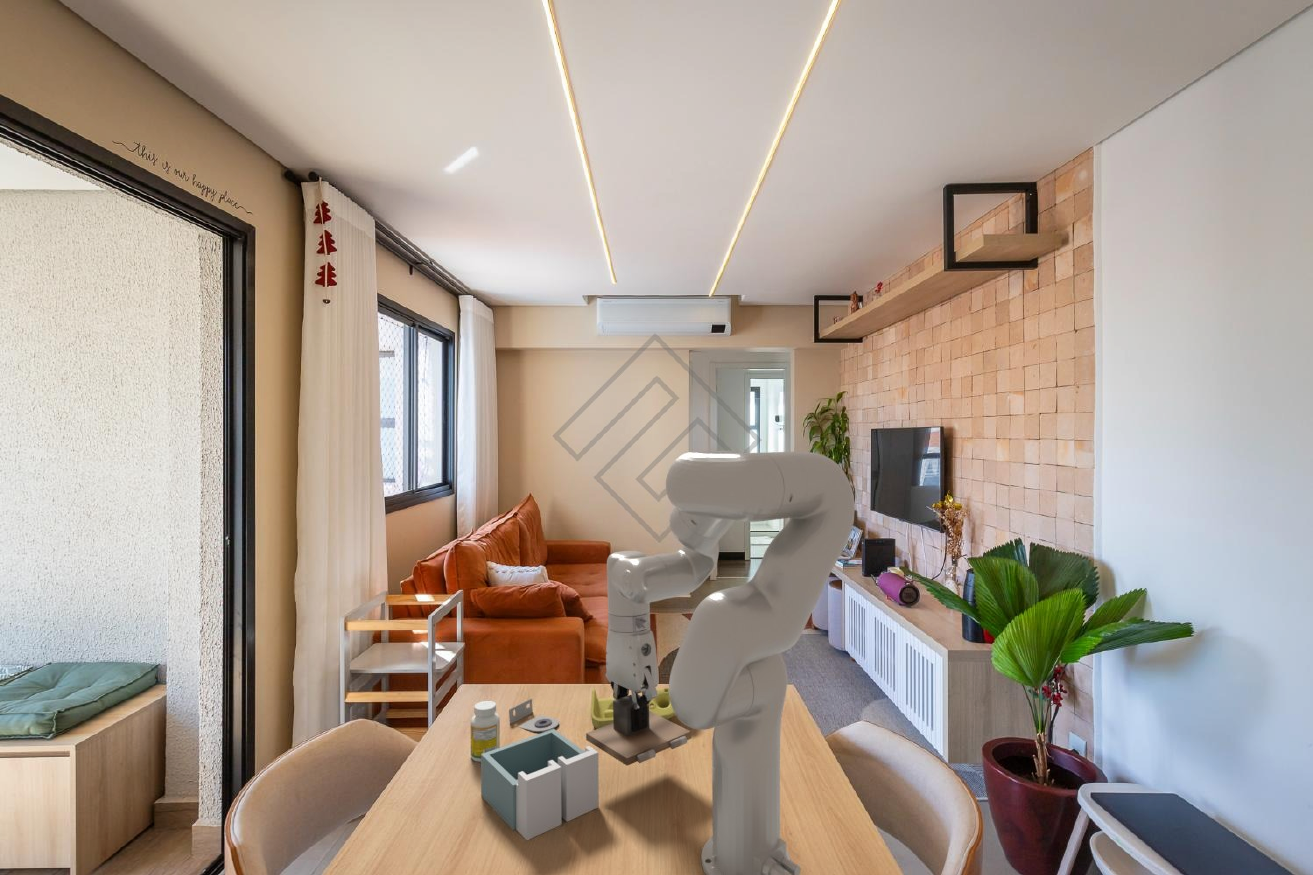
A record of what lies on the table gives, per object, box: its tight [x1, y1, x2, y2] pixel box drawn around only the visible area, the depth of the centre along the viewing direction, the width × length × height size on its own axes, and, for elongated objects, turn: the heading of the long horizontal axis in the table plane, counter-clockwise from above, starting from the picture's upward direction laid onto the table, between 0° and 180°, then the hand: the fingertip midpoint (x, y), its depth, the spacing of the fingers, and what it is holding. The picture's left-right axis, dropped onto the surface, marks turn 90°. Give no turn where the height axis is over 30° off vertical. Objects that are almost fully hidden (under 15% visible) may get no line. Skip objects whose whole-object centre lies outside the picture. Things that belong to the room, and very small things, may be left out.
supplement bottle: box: [470, 700, 501, 763], centre depth 116 cm, size 5×5×10 cm
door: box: [585, 694, 692, 767], centre depth 107 cm, size 13×14×6 cm
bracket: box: [508, 698, 560, 733], centre depth 129 cm, size 7×10×4 cm, turn 57°
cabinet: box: [480, 728, 600, 841], centre depth 102 cm, size 15×14×9 cm
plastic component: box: [590, 687, 676, 730], centre depth 131 cm, size 20×7×10 cm
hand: (631, 723), depth 109 cm, fingers closed on door, 4 cm apart
